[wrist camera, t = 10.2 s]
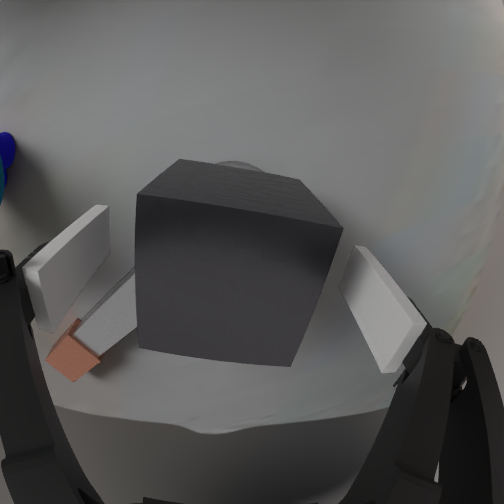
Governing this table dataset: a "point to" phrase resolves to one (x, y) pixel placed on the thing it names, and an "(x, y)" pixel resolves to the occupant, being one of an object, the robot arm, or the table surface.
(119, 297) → the ratchet
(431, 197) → the table surface
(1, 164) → the toy
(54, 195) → the table surface
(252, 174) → the dark charcoal cube
